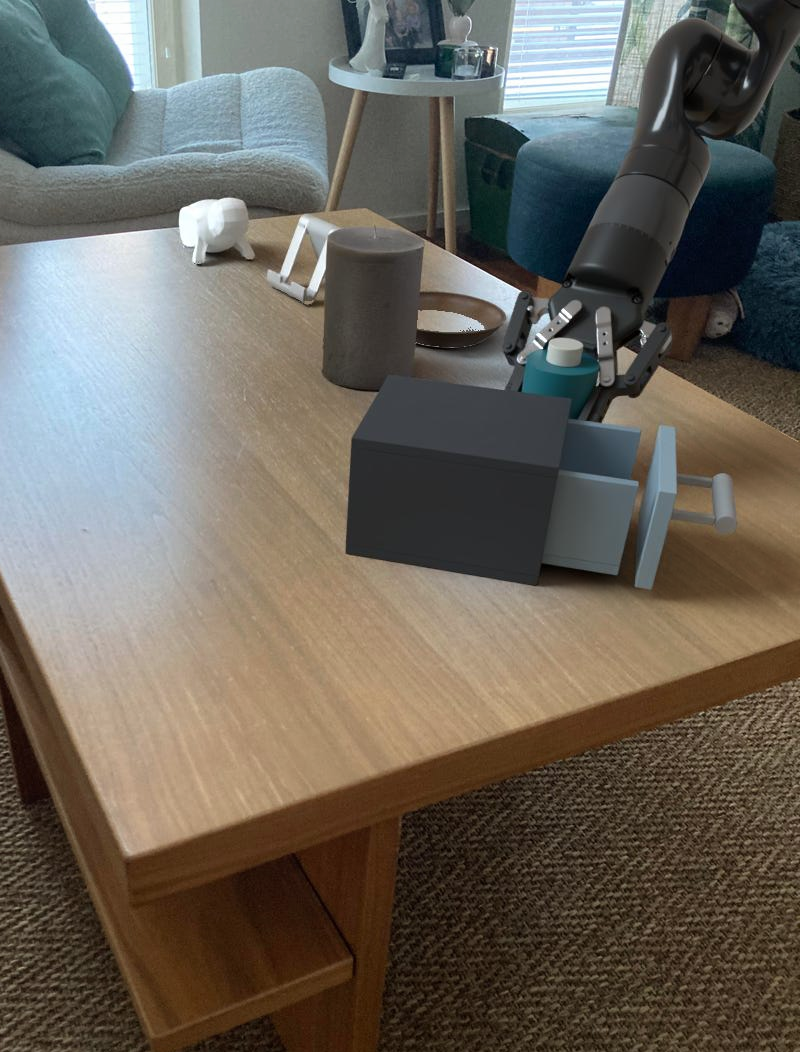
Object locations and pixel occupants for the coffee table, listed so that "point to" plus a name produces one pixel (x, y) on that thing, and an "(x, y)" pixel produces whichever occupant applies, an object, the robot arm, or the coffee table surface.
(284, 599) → the coffee table surface
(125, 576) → the coffee table surface
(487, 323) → the saucer
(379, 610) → the coffee table surface
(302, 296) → the tablet stand
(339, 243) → the pillar candle
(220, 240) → the white animal figurine
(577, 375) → the detergent bottle
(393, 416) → the drawer casing
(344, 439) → the coffee table surface
